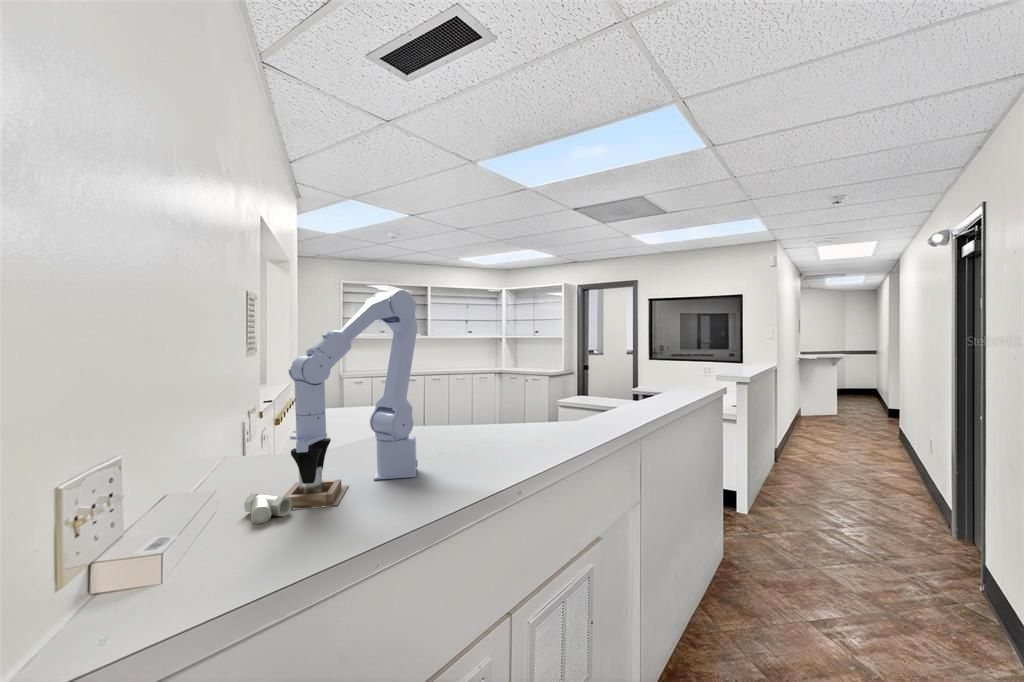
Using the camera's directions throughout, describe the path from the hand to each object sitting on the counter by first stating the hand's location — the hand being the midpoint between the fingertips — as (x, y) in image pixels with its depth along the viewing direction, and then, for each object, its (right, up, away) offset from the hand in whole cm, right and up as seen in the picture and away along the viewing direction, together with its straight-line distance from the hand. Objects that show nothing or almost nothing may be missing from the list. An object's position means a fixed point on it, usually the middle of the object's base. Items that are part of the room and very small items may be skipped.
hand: (312, 478), depth 98 cm
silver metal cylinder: (0, -4, 0) cm, 4 cm away
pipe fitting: (-6, -5, -10) cm, 12 cm away
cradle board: (0, -5, 0) cm, 5 cm away
